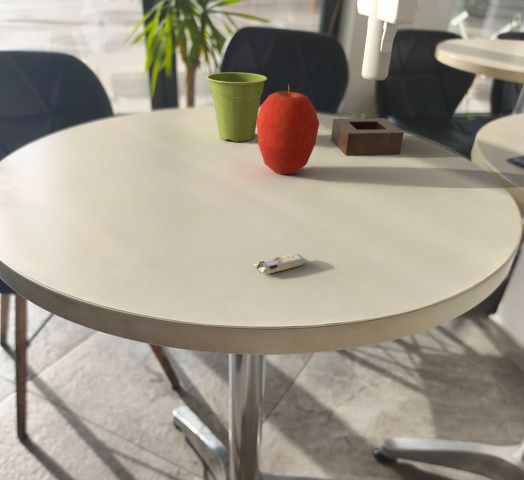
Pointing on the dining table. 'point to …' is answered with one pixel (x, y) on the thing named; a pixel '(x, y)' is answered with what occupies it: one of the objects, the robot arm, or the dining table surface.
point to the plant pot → (236, 103)
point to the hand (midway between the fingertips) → (378, 49)
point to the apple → (287, 131)
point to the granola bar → (280, 263)
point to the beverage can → (375, 48)
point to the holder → (366, 136)
